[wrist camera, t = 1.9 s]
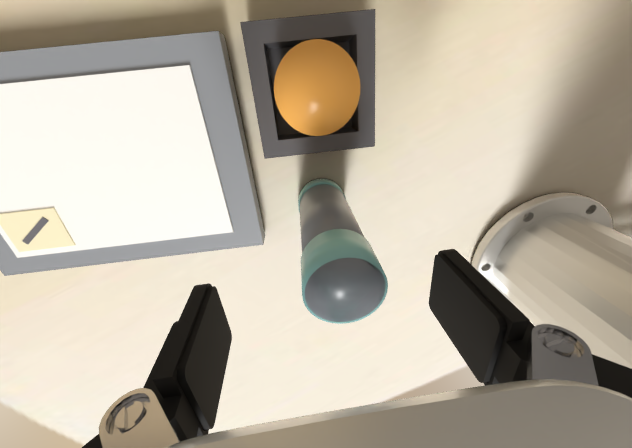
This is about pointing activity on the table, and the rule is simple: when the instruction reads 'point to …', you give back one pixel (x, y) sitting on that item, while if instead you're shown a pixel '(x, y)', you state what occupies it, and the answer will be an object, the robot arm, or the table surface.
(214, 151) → the drawing board
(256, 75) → the button housing
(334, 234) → the marker
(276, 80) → the button
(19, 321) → the table surface
